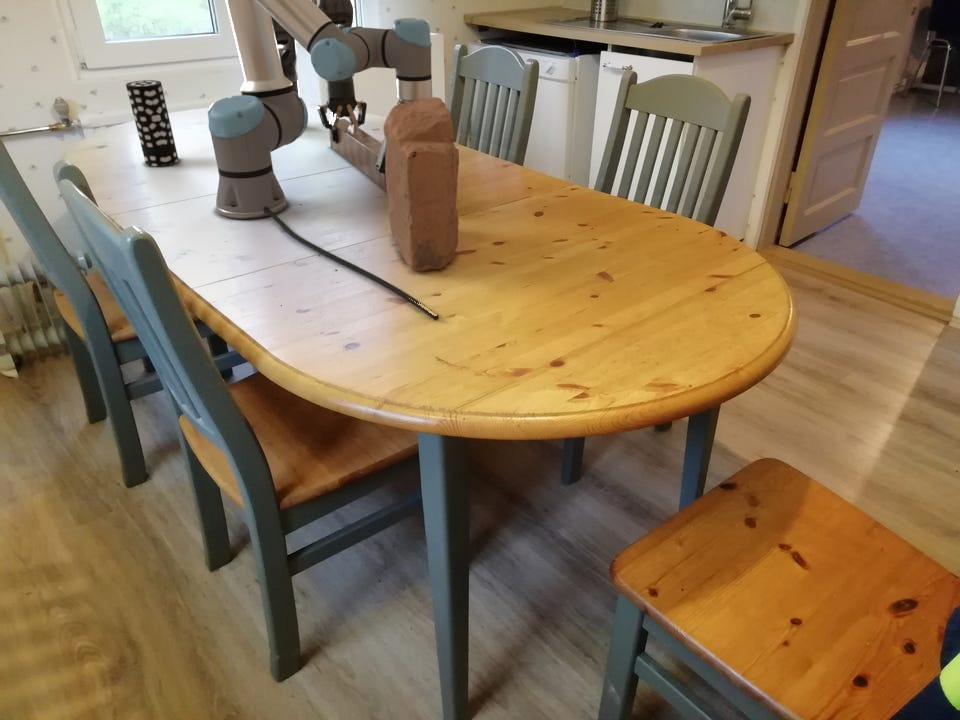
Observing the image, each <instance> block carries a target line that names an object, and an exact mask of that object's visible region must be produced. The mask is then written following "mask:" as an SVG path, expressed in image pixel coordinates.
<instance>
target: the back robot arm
mask: <svg viewBox="0 0 960 720" xmlns="http://www.w3.org/2000/svg"><path fill="white" fill-rule="evenodd" d="M311 1H312V2H313V3H314V4H315V5H316V6H317V7H318V8H319V9H320V10H321V11H322V12H323V13H324V14H325V15H326V16H327V17H328V18H329V19H330V20H331V21H332V22H333V23H334V24H335V25H336V26H337V27H338V28H339V29H340V30H341V31H342V30H343V29H344V28H346V27H353V25H354V19H355V8H354V3H353V1H352V0H311ZM271 19H272V23H273V28H274V33H275V37H276V42H277V47H278V51H279V56H280V61H281V65H282V70H283V74H284V76H285V77H286V78H287V79H289V80H290V81H291V82H292V84H293V89H294V91H295V92H296V93H297V94H298V95H299V97H300V98H301V91H300V84H299V83H300V82H299V76H298V67H297V62H298V53H297V41H296V40H295V39H294V38H293V37H292V36H291V35H290V34H289V33H288V32H287V31H286V30H285V29H284V28H283V27H282V26H281V25H280V24H279V23H278V22H277V21H276V20H275V19H274V18H273V17H272V16H271ZM354 77H355V74H353V75H351V76H349V77H348V78H346V79H342V80H336V81H329V80H325V87H326V89H325V90H326V97H327V98H326V99H327V100H326V103H325V104H322V105H320V104H318V105H316V109H317V112H318V115H319V118H320V121H321V124H322V126H323V127H324V128H325V129H328V130H329V129H330V132H331V139H332V141H333V142H334V143H335V144H337V143H338V135H337V130H336V127H337V123H338V122H339V119H343V118H348V119H349V122H350V123H352V124H353V125H355V126H357V127H358V128H360V126H363V125H364V124H365V122H366V115H367V107H368V104H367V102H365V101H363V100H360V101H359V100H357V99H356V89H355V88H356V87H355V78H354ZM356 108H357V110H358V114H357V117H356V114H355V112H354V111H355V110H356ZM328 110H329V111H330V112H331V114H330V124H329V122H328V121H329V119H328V117H327V114H328Z"/></svg>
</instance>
